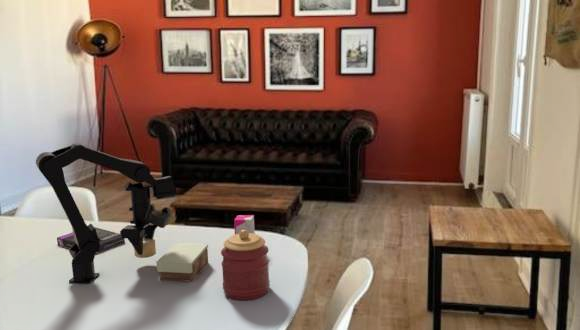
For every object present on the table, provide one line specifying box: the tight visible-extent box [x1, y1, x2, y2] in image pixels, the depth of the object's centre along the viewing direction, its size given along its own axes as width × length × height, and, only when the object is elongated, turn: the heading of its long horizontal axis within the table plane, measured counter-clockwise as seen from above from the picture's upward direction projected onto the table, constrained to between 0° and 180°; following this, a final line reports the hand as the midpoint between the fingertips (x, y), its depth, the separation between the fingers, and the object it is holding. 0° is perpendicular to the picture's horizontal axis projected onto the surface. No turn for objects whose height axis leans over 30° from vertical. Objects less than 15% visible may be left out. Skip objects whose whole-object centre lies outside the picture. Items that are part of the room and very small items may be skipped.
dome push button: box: [133, 238, 157, 259], centre depth 170 cm, size 6×6×4 cm
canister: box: [220, 230, 271, 301], centre depth 150 cm, size 13×13×18 cm
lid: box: [156, 242, 209, 273], centre depth 165 cm, size 16×10×3 cm
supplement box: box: [233, 214, 256, 235], centre depth 181 cm, size 6×6×12 cm
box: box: [56, 226, 126, 253], centre depth 192 cm, size 14×4×20 cm
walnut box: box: [159, 248, 209, 282], centre depth 166 cm, size 14×10×5 cm
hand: (145, 250), depth 171 cm, fingers closed on dome push button, 6 cm apart
